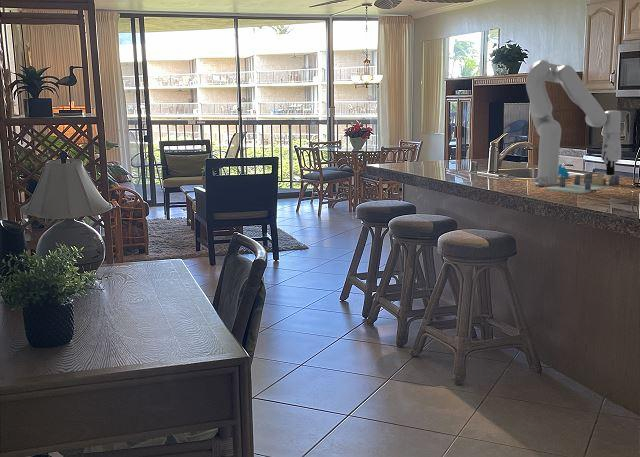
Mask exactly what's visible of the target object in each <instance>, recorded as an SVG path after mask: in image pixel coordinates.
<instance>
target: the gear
mask: <svg viewBox="0 0 640 457" xmlns="http://www.w3.org/2000/svg"><path fill="white" fill-rule="evenodd" d="M569 171H570V170H569V169H566V167H565V166H562V164H560V163H559V169H558V176H559V175H560V177H566V179H568V178H569V177H570V173H569ZM560 177H559V178H560Z"/></svg>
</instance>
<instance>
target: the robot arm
mask: <svg viewBox="0 0 640 457" xmlns="http://www.w3.org/2000/svg"><path fill="white" fill-rule="evenodd" d="M526 76H527V77H526V79H525V80H526V81H525V88H526V92H527V96H528V99H529V102H530V104H529V113H530V117H531V120H532V122H533V125H534V127H535V130H536V133H537V135H538V136H539V143H538V158H537V159H538V160H537V161H538V163H537V164H538V165H537V175H536V177H535V178H532V183H533V185H535V186H541V187H549V186H555V185H560V181H559V175H558V169H559V165H560V149H561V148H560V146H561V138H562V126H561V123H560V122H558V121H557V120H555V119H554V117H553V114H552V112H553V104H552V101H551V99H550V97H549V94H548V92H547V88H546V83H545V82H546V81H547V82H552V83H556V84H560V86H561V87H562V89H563V90H564V92H565V93H566V94H567V96H568V98H569V99H570V100H571V101H572V102H573V103H574V104H575V105H577V106H578V107H579V108H580V110H582V111H583V112H584V114H585V118H584V120H585V123H586V124H587V126H589V127H593V128H594V127H595V128H601V127H603V128H602V141H603V142H602V146H601V147H602V148H601V160H602V161H603V164H605V167H606V170H605V171H606V176H614V175H615V168H616V163H618V161H620V160H621V158H622V143H621V120H622V119H621V118H622V113H621V111H620V110H606V111H604V109H603V107H602V106H601V104H600V103H599V102H598V100H597V99H596V98H595V97H594V96H593V94H592V93H591V92H590V90H589V89H588V88H587V86H586V85H585V83H583V81H582V79H581V78H580V76H579V75H578V73H577V72H576V70H575V68H573V66H571V65H570V64H563V65H560V64H555V63H550V62H549V61H548V60H545V59H540V60H536V61H534V62H533V63H532V64H531V65H530V67H529V71H528V74H527V75H526Z"/></svg>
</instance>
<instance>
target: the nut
mask: <svg viewBox="0 0 640 457" xmlns="http://www.w3.org/2000/svg"><path fill="white" fill-rule="evenodd" d="M606 183H607V178H606V177H603V176H601V177H600V176H598V177H593V176H592V185H606Z"/></svg>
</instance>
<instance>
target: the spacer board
mask: <svg viewBox="0 0 640 457" xmlns="http://www.w3.org/2000/svg"><path fill="white" fill-rule="evenodd" d="M620 176H621V175H620V174H614V175H609V179H608V183H607V182H606V185H592V178H593V172H587V173H584V174H583V181H581V175H580V174H575V175H574V182H573V183H569V184H566V180H567V178H566V177H564V176H563V177H559V182H560V184H559V185H553V186H546V187H545V191H553V192H554V191H555V192H561V193H562V192H563V193H571V194H586V193H587V194H588V193H593V192H594V193H595V192H597V190H598V189H604V188H610V187H611V188H612V187H615V186H616V187H617V186H620Z"/></svg>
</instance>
